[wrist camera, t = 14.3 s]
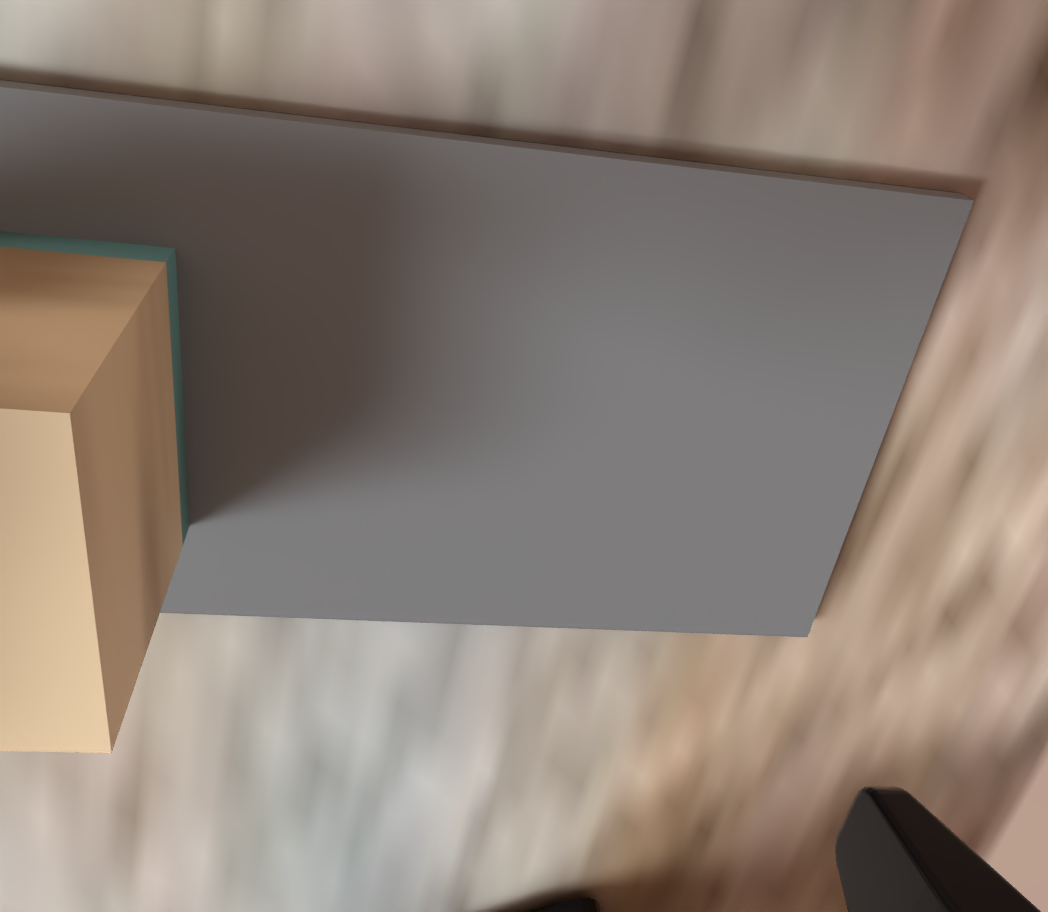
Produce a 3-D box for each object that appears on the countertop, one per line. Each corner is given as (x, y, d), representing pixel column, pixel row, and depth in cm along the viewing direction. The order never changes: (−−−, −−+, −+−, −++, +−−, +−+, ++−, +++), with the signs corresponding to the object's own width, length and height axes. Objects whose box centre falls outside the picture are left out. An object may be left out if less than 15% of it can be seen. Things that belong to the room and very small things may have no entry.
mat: (961, 193, 15) (974, 200, 15) (800, 623, 20) (807, 637, 19) (-398, 32, 12) (-422, 37, 12) (-215, 583, 17) (-227, 597, 16)
